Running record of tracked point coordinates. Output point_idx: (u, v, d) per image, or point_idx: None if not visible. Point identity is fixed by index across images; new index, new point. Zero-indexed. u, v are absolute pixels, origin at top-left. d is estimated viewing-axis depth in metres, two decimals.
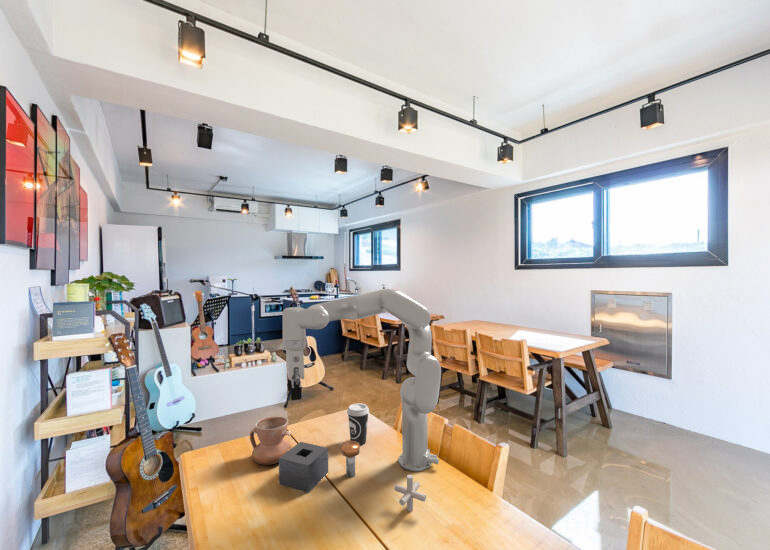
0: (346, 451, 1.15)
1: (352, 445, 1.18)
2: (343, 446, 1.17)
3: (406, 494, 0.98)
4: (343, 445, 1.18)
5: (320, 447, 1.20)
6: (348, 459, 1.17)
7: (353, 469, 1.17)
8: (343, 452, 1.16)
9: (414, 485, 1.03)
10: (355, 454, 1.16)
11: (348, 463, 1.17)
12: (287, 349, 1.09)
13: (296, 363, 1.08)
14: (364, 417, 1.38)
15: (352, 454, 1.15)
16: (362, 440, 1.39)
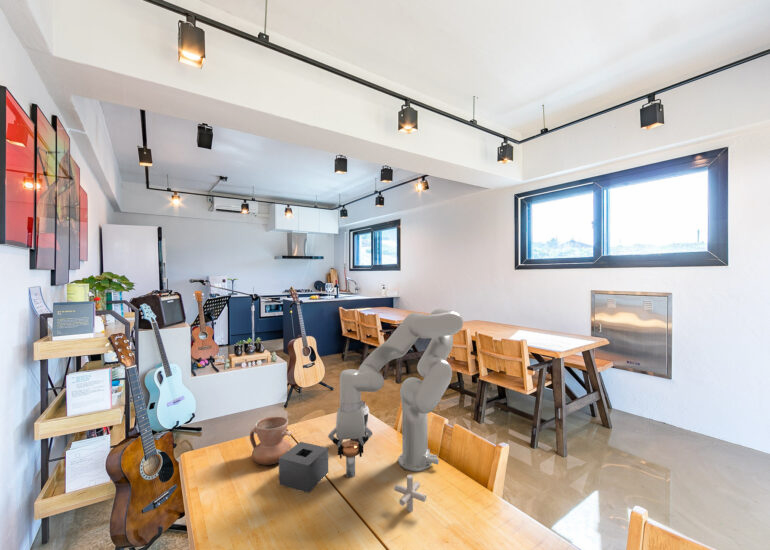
0: (346, 451, 1.15)
1: (352, 445, 1.18)
2: (343, 446, 1.17)
3: (406, 494, 0.98)
4: (343, 445, 1.18)
5: (320, 447, 1.20)
6: (348, 459, 1.17)
7: (353, 469, 1.17)
8: (343, 452, 1.16)
9: (414, 485, 1.03)
10: (355, 454, 1.16)
11: (348, 463, 1.17)
12: (358, 410, 1.16)
13: None
14: (364, 417, 1.38)
15: (352, 454, 1.15)
16: None
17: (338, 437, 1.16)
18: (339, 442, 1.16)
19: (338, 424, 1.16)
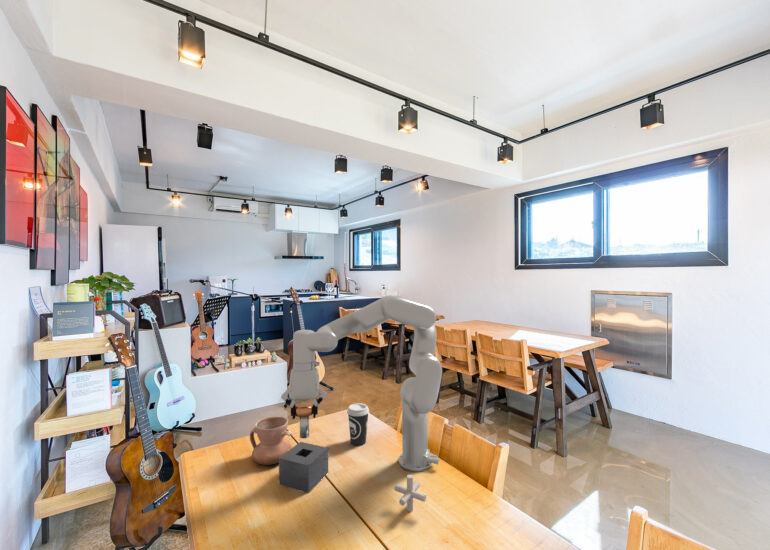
0: (298, 411, 1.13)
1: (306, 406, 1.16)
2: (296, 407, 1.15)
3: (406, 494, 0.98)
4: (297, 406, 1.16)
5: (320, 447, 1.20)
6: (301, 420, 1.15)
7: (306, 430, 1.15)
8: (296, 412, 1.14)
9: (414, 485, 1.03)
10: (308, 414, 1.13)
11: (301, 424, 1.15)
12: (311, 370, 1.14)
13: (318, 380, 1.17)
14: (364, 417, 1.38)
15: (305, 414, 1.13)
16: (362, 440, 1.39)
17: (291, 397, 1.13)
18: (292, 402, 1.14)
19: (291, 384, 1.13)
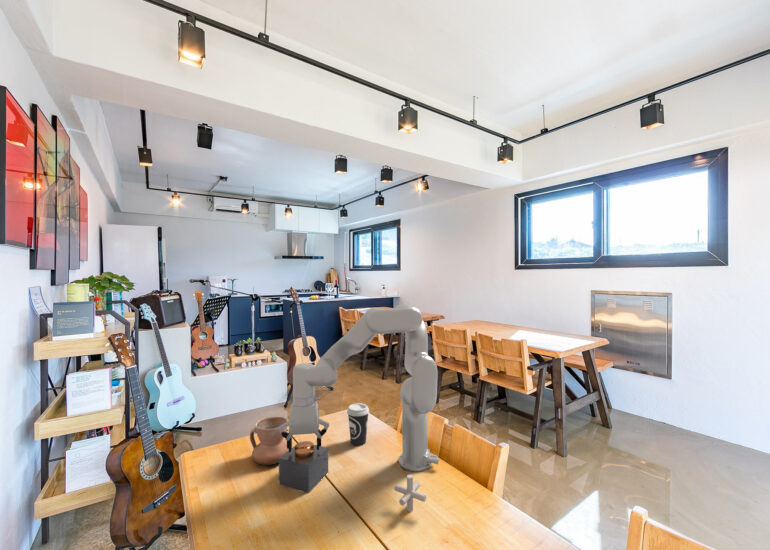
0: (298, 451, 1.13)
1: (306, 445, 1.16)
2: (296, 447, 1.15)
3: (406, 494, 0.98)
4: (296, 445, 1.16)
5: (320, 447, 1.20)
6: None
7: None
8: (296, 453, 1.14)
9: (414, 485, 1.03)
10: (308, 455, 1.13)
11: None
12: (311, 405, 1.14)
13: (318, 414, 1.17)
14: (364, 417, 1.38)
15: (304, 455, 1.13)
16: (362, 440, 1.39)
17: (290, 432, 1.13)
18: (288, 435, 1.14)
19: (290, 419, 1.13)
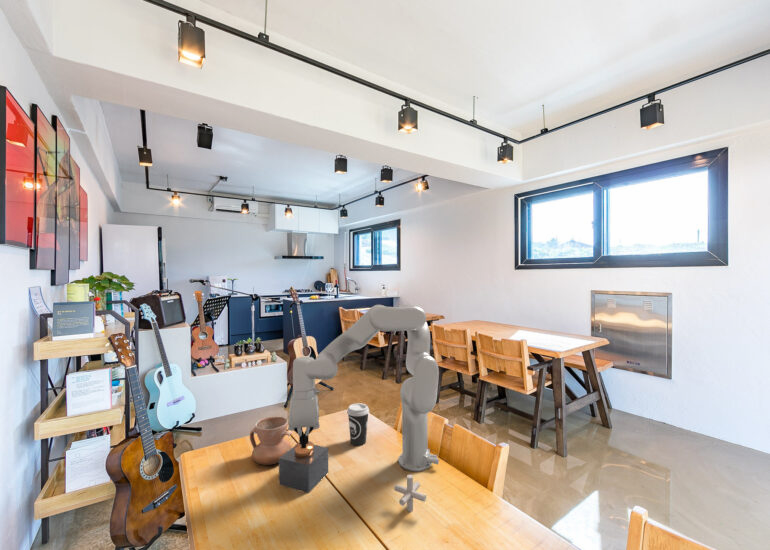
0: (298, 451, 1.13)
1: (306, 445, 1.16)
2: (296, 447, 1.15)
3: (406, 494, 0.98)
4: (296, 445, 1.16)
5: (320, 447, 1.20)
6: None
7: None
8: (296, 453, 1.14)
9: (414, 485, 1.03)
10: (308, 455, 1.13)
11: None
12: (311, 398, 1.14)
13: (318, 407, 1.17)
14: (364, 417, 1.38)
15: (304, 455, 1.13)
16: (362, 440, 1.39)
17: (290, 425, 1.13)
18: (301, 431, 1.15)
19: (290, 412, 1.13)
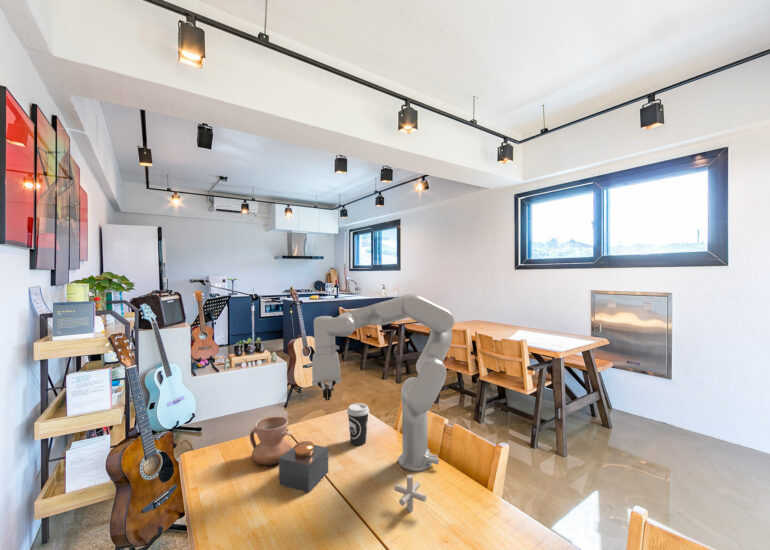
0: (298, 451, 1.13)
1: (306, 445, 1.16)
2: (296, 447, 1.15)
3: (406, 494, 0.98)
4: (296, 445, 1.16)
5: (320, 447, 1.20)
6: None
7: None
8: (296, 453, 1.14)
9: (414, 485, 1.03)
10: (308, 455, 1.13)
11: None
12: (333, 353, 1.21)
13: None
14: (364, 417, 1.38)
15: (304, 455, 1.13)
16: (362, 440, 1.39)
17: (314, 380, 1.20)
18: (324, 385, 1.21)
19: (314, 367, 1.20)
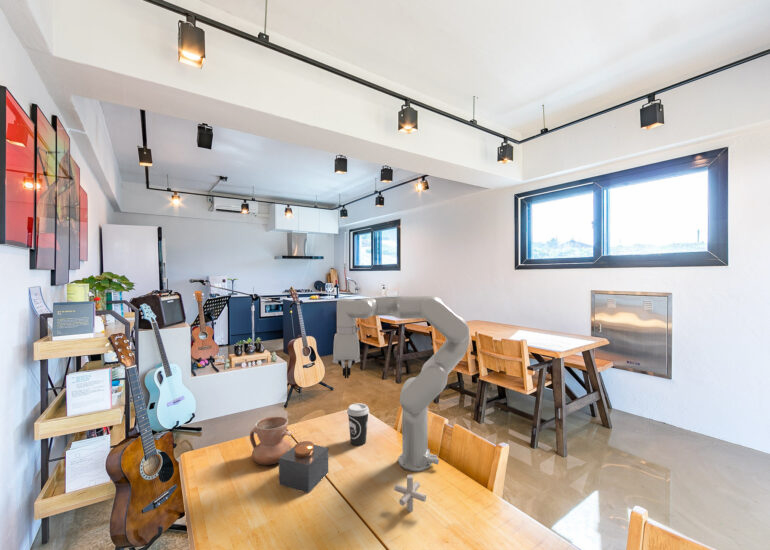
0: (298, 451, 1.13)
1: (306, 445, 1.16)
2: (296, 447, 1.15)
3: (406, 494, 0.98)
4: (296, 445, 1.16)
5: (320, 447, 1.20)
6: None
7: None
8: (296, 453, 1.14)
9: (414, 485, 1.03)
10: (308, 455, 1.13)
11: None
12: (353, 334, 1.28)
13: None
14: (364, 417, 1.38)
15: (304, 455, 1.13)
16: (362, 440, 1.39)
17: (335, 358, 1.28)
18: (344, 363, 1.29)
19: (335, 346, 1.28)
